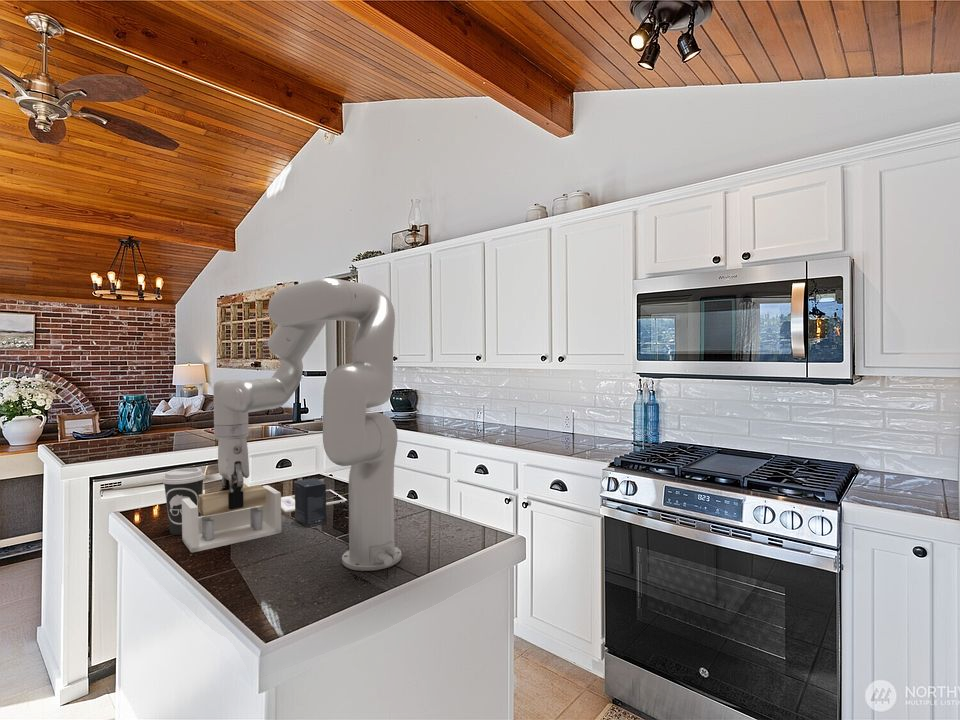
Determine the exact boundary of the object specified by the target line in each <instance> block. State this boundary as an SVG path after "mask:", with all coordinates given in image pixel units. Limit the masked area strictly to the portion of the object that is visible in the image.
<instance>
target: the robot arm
mask: <svg viewBox="0 0 960 720" xmlns="http://www.w3.org/2000/svg"><path fill="white" fill-rule="evenodd" d="M267 312H268V316H269V318H270V320H271V321H272V323H274V324H275V325H276V327H275V328H274V331H272V333H271V335H270V336H269V338H268V340H267V347H268V349H269V350H270V351H271V353H272V354H273V355H274V356H275V357H276V358H278V359H280V360H281V361H280V363H279V365H278V368H276V370H275V371H274V373H273V375H271V377H270V378H257V379H249V380H248V379H246V380H245V379H244V380H241V379H224V380H218V381H216V382H215V383H214V385H213V425H214V426H213V433H214V434H213V437H214V439H215V440H218V442H217V443H218V444H217V449H218V450H217V466H218V469H217V470H218V473H219V475H220V476H221V477H222V478H221V480H222V481H221V487H222V488H221V489H222V491H225V490H230V492H229V493H228V500H229V509H230V510H231V509H237V508H242V507H243V483H245V481H244V480H245V479H247V478H249V477H250V461H249V450H248V441H247V438H248V437H249V413H254V412H261V411H267V410H274V409H278V408H280V407H282V406H284V405H285V404H286V403H287V402H288V401H289V400H290V399H291V397H292V396H293V394H294V393H295V392H296V391H297V388H298V387H299V385H300V383H301V381H302V377H303V370H304V369H303V368H304V366H303V364H304V363H303V358H304V356H305V355H306V354H307V352H308V351H309V349H310V348H311V346H312V345H313V343H314V341H316V339H317V337H318V336H319V335H320V333H321V331H322V330H323V329H324V327H325V326H326V323H327V322H329V321H340V322H354V323H357V324H358V328H357V330H356V331H355V335H354V338H353V342H352V361H351V363H345V364H340V365H338V366H336V367H335V368H334V369H333V370H331V372H329V375H328V376H327V378H326V381H325V384H324V388H323V402H322V403H323V405H322V407H323V408H322V442H323V443H322V444H323V449H324V452H325V454H326V456H327V458H328V459H329V460H330V461H331V462H332V464H333V463H334V465H337V466H341V467H349V466H350V469H349V475H348V550H346V551H345V552H344V553H343V554H342V555H341V563H342V565H343V566H344V567H345V568H347V569H350V570H354V571H357V572H359V571H360V572H373V571H379V570H384V569H387V568H391V567H393V566H394V565H397V564H398V563H399V562H400V561H401V560H402V550H401V549H400V548H399V547H398V546H396V542H395V498H394V497H395V495H394V494H395V489H394V487H395V459H396V454H397V452H396V451H397V447H398V430H397V427H396V424H395V422H394V421H393V420H392V418H390V417H389V416H388V415H386V414H384V413H381V412H367V411H366V410H367V409H370V408H375V407H378V406H382V405H384V404H385V403H387V402H388V401H389V400H390V398H391V397H392V392H393V386H394V384H393V383H394V382H393V381H394V378H393V377H394V338H395V337H394V336H395V325H396V315H395V309H394V306H393V303H392V301H391V300H390V298H389V297H388V296H387V295H386V294H385V293H384V292H382V291H381V290H379V289H378V288H376V287H374V286H372V285H369V284H365V283H361V282H356V281H350V280H345V279H339V278H331V277H325V278H319V279H313V280H311V281H306V282H301V283H300V282H299V283H297V284H292V285H287V286H284V287H282V288H280V289H279V290H277V291H275V292H274V294H273V295H272V296H271V298H270V300H269V302H268V308H267ZM366 412H367V413H366ZM235 481H236V482H235Z"/></svg>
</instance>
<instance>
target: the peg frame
mask: <svg viewBox="0 0 960 720" xmlns="http://www.w3.org/2000/svg"><path fill="white" fill-rule="evenodd" d="M261 486H262V487H264V488H266V505H262V506H256V507H251V508H246V509H241V510H235V511H230V512H225V513H219V514H214V515H209V516H203V515H200V517H198V507H197V506H196V505H195V504H194V503H193V502H192V501H191V500H190V499H189V498H185V499H182V534H181V535H182V536H181V537H182V539H181V541H182V542H183V543H184V545H185V546H186V548H187V549H188V551H189V552H190V553H192V554H193V553H196V552H201V551H206V550H211V549H214V548H219V547H223V546H229V545H233V544H238V543H243V542H248V541H251V540H252V541H253V540H257V539H260V538H265V537H269V536H273V535H279V534H282V509H281V497H282V492H280V491H278V490H277V489H275V488H273V487H272V486H270V485H268V484H267V485H261Z"/></svg>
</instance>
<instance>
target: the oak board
mask: <svg viewBox="0 0 960 720" xmlns="http://www.w3.org/2000/svg"><path fill="white" fill-rule="evenodd" d="M262 486H263V485H260V484H256V485H250V486H249V485H248V487H243V507H242V508H237V509H231V510H230V509H229V500H228V493H229V492H230V490H225V491H220V490H219V491H214V492H209V493H208V492H207V493H202V494H201V495H199V512H200V515H201V516H209V515H214V514H219V513H225V512H230V511H235V510H241V509H246V508H251V507H256V506H262V505H266V488H264V487H262Z"/></svg>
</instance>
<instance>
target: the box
mask: <svg viewBox="0 0 960 720" xmlns="http://www.w3.org/2000/svg"><path fill="white" fill-rule="evenodd" d="M326 490H327V483H326V482H323V481H321V480H319V479H316V478H306V479H301V480H295V481H294V495H295V497H294V499H295V511H294V519H295V521H296V522H298V523H300V524H302V525H303V526H304V527H307V528H308V527H311V526H318V525H323V524H326V522H327V505H326V503H327V492H326Z"/></svg>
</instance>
